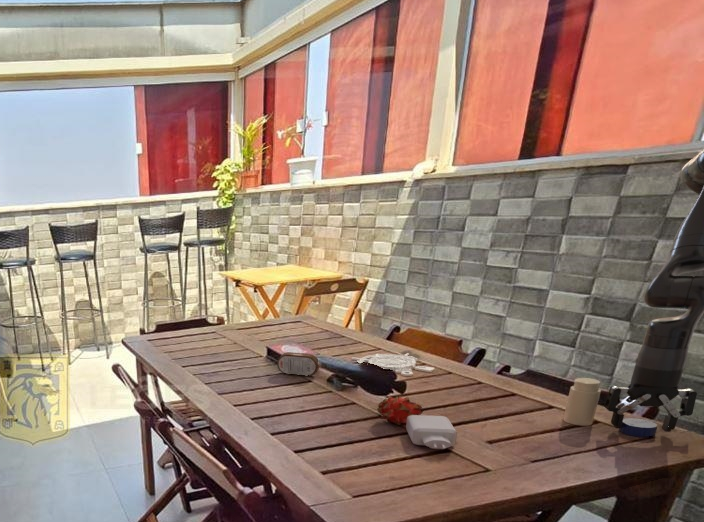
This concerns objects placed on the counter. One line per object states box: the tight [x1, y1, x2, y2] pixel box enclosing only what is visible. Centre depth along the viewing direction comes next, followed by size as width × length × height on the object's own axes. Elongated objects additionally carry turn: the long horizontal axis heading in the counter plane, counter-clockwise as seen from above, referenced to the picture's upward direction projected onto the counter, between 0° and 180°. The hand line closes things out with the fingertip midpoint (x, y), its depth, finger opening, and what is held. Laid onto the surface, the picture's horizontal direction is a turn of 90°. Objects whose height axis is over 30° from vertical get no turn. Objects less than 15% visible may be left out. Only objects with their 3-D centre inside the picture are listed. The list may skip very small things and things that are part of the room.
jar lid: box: [618, 417, 658, 438], centre depth 118 cm, size 6×6×2 cm
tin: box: [276, 351, 321, 377], centre depth 183 cm, size 15×3×8 cm, turn 52°
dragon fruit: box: [376, 395, 425, 426], centre depth 136 cm, size 8×8×12 cm
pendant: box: [351, 352, 436, 377], centre depth 183 cm, size 21×28×1 cm
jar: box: [562, 377, 602, 427], centre depth 125 cm, size 6×6×11 cm
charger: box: [405, 414, 458, 450], centre depth 123 cm, size 5×9×15 cm
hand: (641, 428), depth 118 cm, fingers open, 8 cm apart
